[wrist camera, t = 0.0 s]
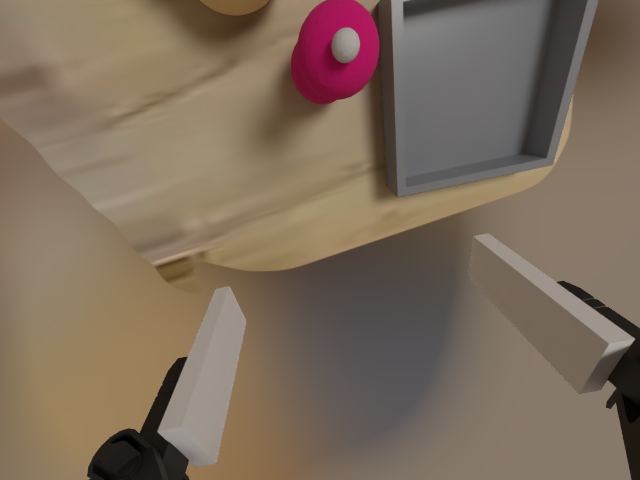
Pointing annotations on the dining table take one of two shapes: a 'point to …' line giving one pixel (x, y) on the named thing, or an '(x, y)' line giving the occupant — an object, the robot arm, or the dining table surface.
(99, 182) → the dining table surface
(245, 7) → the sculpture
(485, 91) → the tray
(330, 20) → the pepper mill
